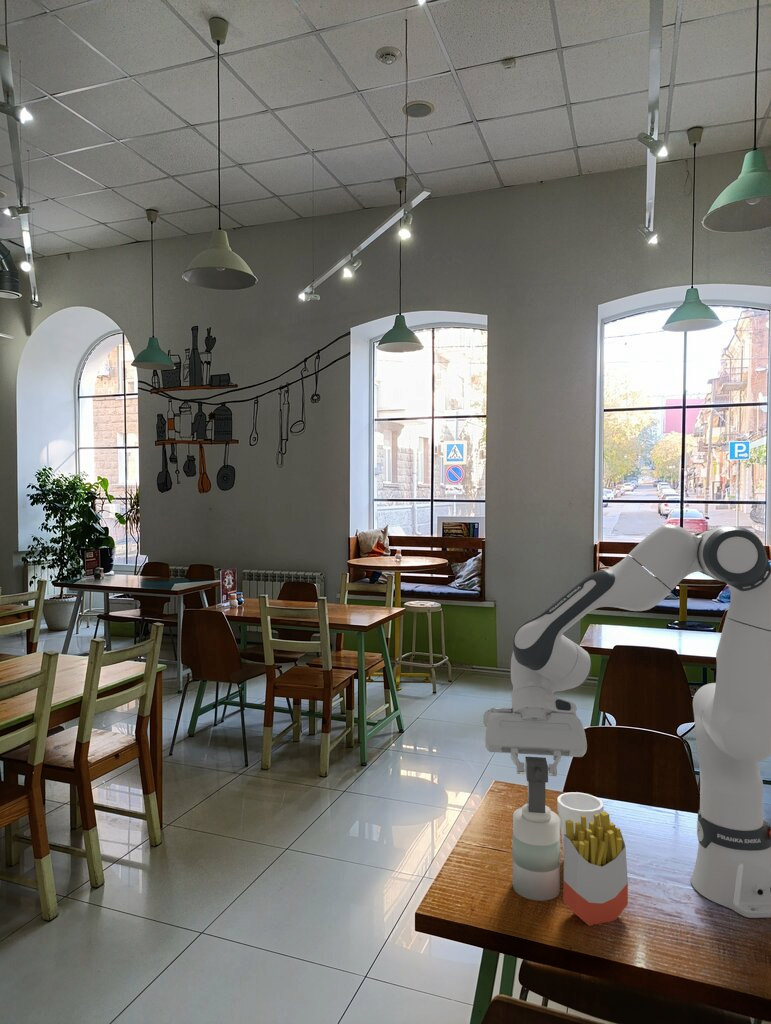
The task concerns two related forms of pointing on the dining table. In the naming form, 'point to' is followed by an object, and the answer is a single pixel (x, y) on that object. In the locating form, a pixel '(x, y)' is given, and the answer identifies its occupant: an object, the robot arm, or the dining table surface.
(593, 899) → the french fries container
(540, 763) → the pump head
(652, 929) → the dining table surface
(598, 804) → the foam cup
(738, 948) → the dining table surface
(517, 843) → the syrup bottle
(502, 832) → the dining table surface
